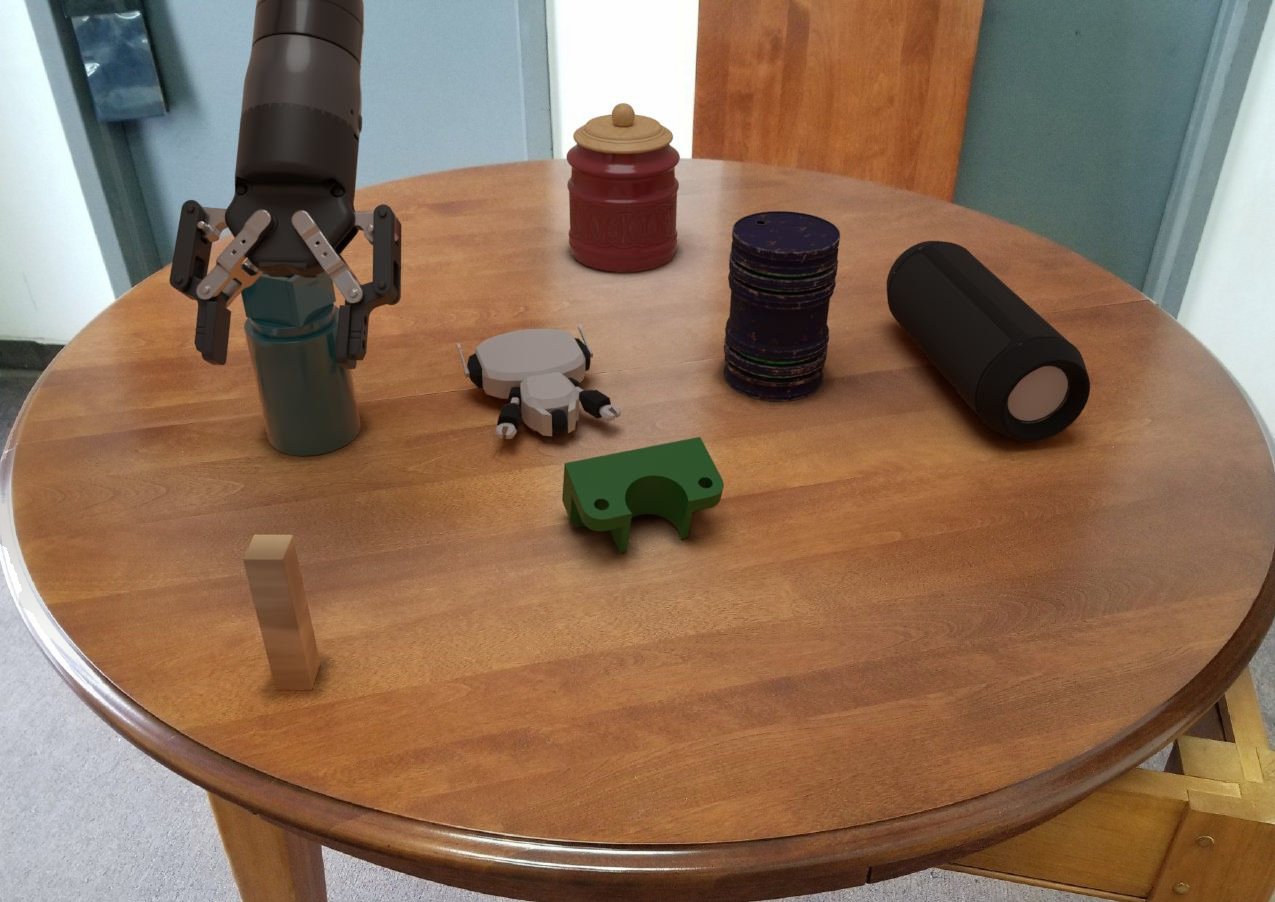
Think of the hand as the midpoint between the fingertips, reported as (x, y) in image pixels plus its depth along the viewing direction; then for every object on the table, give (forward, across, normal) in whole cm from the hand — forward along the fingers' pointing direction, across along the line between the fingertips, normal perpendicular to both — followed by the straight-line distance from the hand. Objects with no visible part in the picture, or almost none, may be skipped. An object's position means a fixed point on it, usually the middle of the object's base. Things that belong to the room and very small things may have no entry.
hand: (279, 364), depth 68 cm
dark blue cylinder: (-9, +35, +37) cm, 51 cm away
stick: (+20, +1, +6) cm, 21 cm away
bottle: (0, -7, +27) cm, 28 cm away
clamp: (+8, +23, +18) cm, 31 cm away
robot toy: (-4, +13, +32) cm, 34 cm away
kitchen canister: (-28, +18, +58) cm, 67 cm away
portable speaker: (-9, +54, +37) cm, 66 cm away
